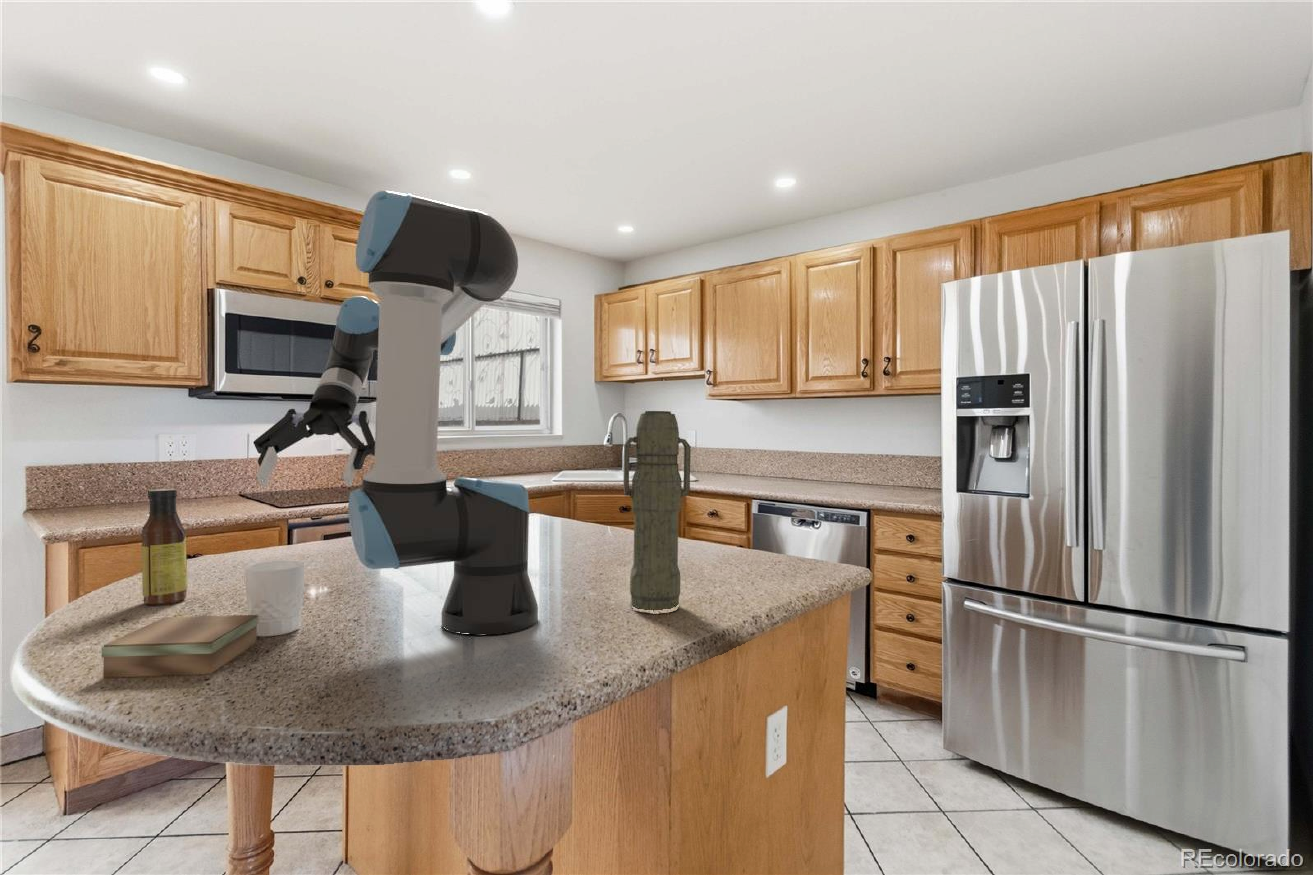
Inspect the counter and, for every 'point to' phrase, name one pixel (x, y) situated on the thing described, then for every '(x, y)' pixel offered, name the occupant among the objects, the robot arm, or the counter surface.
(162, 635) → the walnut block
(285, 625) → the white cup
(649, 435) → the thermos
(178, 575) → the sauce bottle
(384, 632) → the counter surface
